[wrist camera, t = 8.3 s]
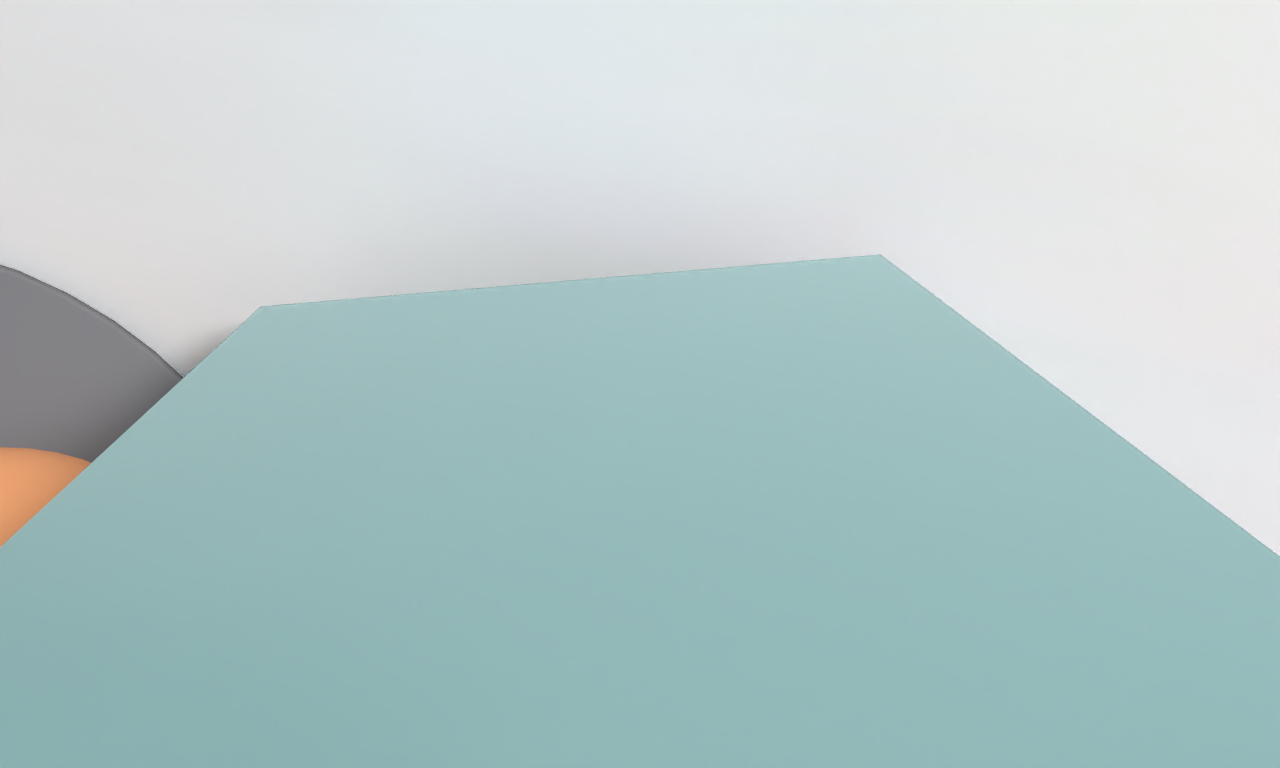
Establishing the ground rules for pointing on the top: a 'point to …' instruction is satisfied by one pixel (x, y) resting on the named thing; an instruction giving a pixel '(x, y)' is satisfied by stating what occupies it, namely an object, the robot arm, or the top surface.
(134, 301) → the top surface
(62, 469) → the ball
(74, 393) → the dark gray round disc
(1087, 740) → the teal cuboid box
